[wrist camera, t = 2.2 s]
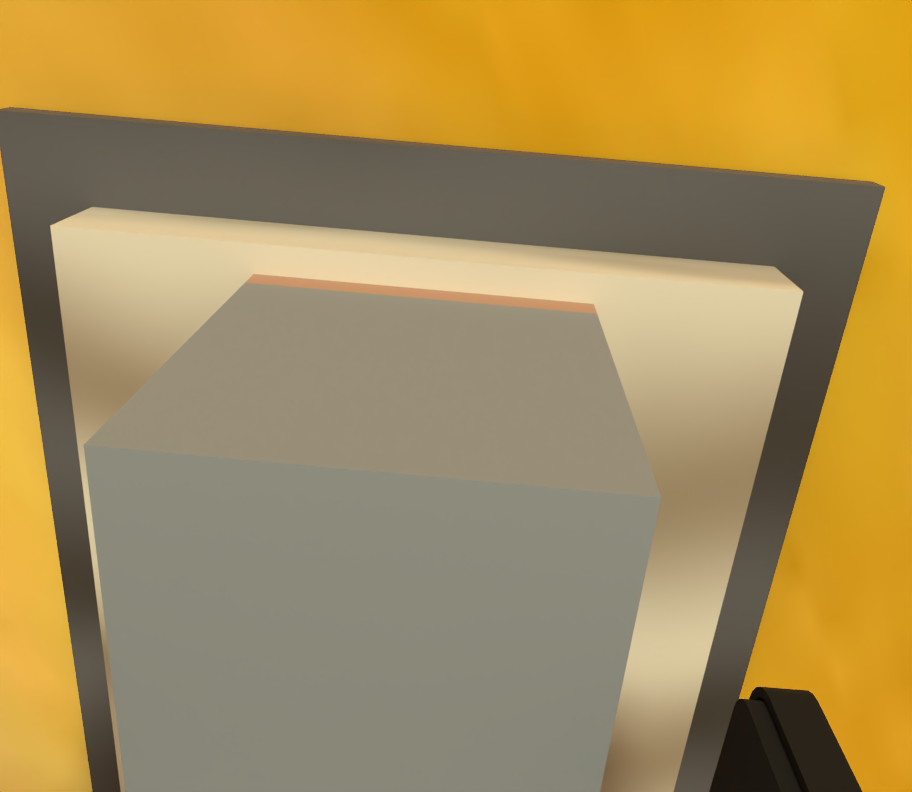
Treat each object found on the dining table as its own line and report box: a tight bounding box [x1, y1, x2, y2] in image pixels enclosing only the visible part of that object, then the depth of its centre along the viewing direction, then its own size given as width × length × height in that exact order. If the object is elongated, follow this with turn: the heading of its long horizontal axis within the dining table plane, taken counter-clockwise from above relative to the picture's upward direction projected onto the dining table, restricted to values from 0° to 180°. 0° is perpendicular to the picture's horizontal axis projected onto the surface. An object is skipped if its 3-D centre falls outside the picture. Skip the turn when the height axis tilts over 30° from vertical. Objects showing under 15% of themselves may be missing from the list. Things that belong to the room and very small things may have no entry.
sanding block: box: [84, 274, 661, 792], centre depth 12 cm, size 8×6×6 cm
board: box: [0, 107, 885, 792], centre depth 18 cm, size 22×15×2 cm
